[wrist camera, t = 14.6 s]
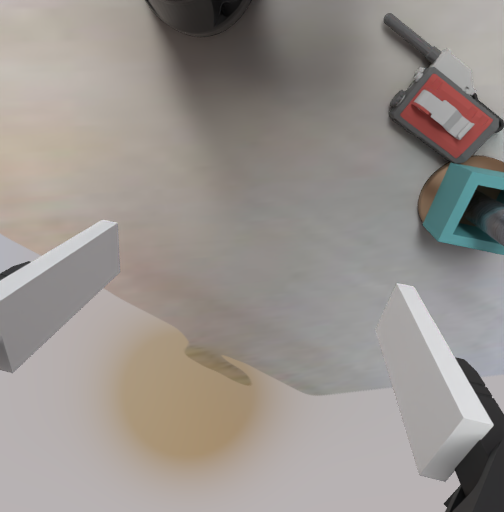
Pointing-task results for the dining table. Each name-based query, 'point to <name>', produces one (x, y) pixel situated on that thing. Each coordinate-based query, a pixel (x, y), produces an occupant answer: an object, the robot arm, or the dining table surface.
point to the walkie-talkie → (442, 102)
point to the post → (486, 215)
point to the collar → (462, 207)
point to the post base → (436, 179)
